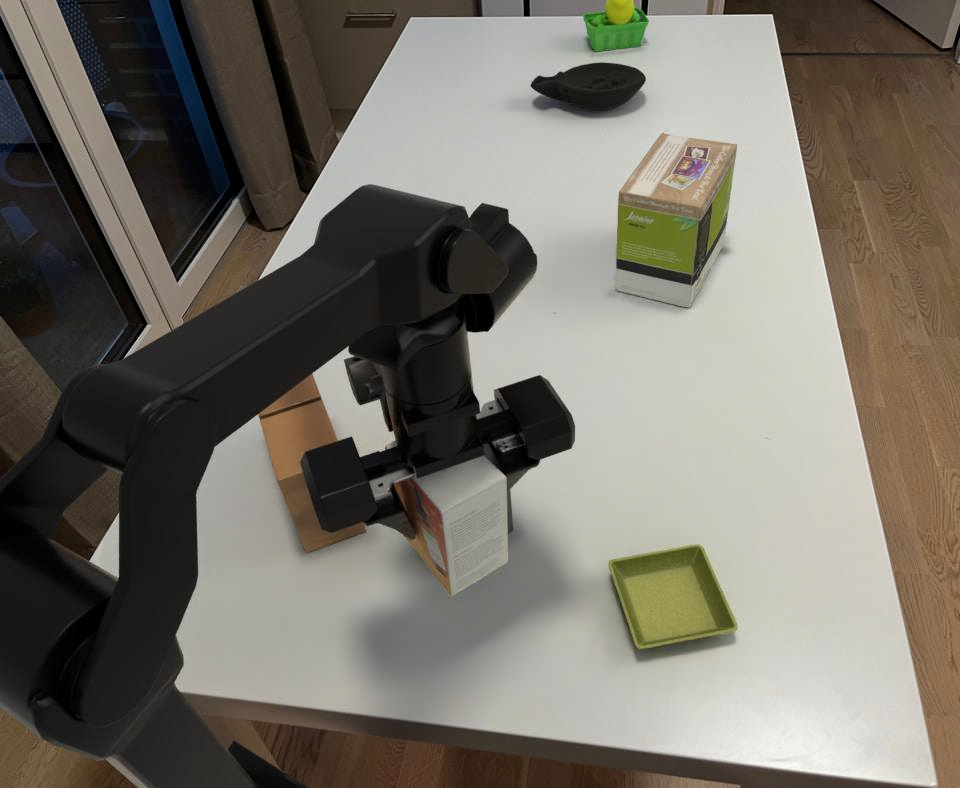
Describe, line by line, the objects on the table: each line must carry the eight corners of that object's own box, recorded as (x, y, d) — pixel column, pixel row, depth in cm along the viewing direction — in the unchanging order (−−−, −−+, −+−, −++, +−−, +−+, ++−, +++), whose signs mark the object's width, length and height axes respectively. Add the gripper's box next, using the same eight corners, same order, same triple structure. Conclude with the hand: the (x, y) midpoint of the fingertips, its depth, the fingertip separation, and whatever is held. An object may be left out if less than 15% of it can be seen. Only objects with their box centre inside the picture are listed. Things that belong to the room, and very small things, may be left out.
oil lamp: (532, 86, 145) (531, 58, 141) (640, 81, 143) (642, 53, 139) (530, 124, 134) (529, 96, 131) (647, 119, 132) (649, 90, 129)
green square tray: (699, 555, 72) (701, 542, 71) (736, 642, 66) (740, 629, 65) (606, 572, 72) (607, 560, 70) (635, 662, 66) (636, 649, 64)
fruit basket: (637, 33, 158) (641, -28, 150) (650, 50, 152) (654, -13, 144) (581, 40, 158) (582, -21, 150) (591, 58, 151) (593, -5, 143)
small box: (398, 531, 65) (381, 443, 58) (455, 499, 67) (445, 411, 60) (451, 600, 60) (439, 513, 53) (510, 563, 62) (507, 475, 55)
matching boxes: (306, 553, 76) (276, 481, 68) (272, 437, 87) (243, 364, 79) (366, 531, 77) (344, 457, 69) (325, 420, 88) (302, 345, 81)
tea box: (652, 229, 109) (661, 128, 99) (725, 245, 106) (742, 142, 95) (612, 292, 100) (617, 188, 90) (689, 311, 97) (704, 205, 86)
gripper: (511, 268, 58) (519, 415, 69) (260, 342, 54) (310, 486, 65) (580, 360, 51) (577, 509, 61) (293, 453, 47) (344, 595, 57)
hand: (450, 520), depth 62 cm, fingers closed on small box, 6 cm apart
